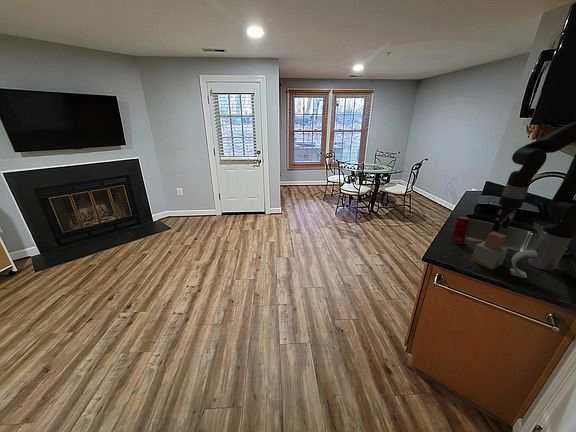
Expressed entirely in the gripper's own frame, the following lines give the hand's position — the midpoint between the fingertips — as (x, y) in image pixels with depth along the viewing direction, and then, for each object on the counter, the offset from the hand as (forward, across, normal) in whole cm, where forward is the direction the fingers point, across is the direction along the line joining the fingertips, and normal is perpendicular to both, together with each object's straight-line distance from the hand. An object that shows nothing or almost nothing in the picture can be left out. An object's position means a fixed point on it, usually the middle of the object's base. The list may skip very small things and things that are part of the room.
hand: (499, 229), depth 107 cm
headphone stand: (+18, +2, -11) cm, 21 cm away
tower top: (+14, -1, 0) cm, 14 cm away
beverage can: (+18, +9, +19) cm, 28 cm away
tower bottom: (+18, -1, 0) cm, 18 cm away
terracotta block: (+9, 0, 0) cm, 9 cm away
